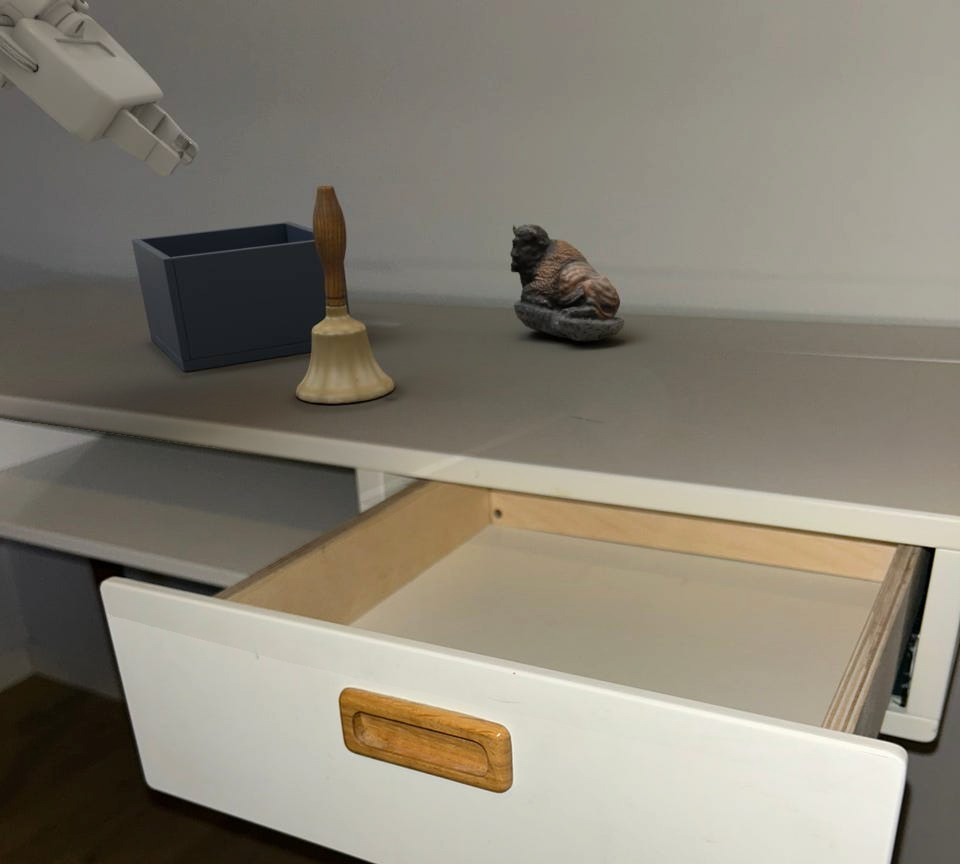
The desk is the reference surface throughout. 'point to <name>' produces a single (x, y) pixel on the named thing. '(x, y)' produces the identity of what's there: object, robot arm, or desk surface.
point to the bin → (232, 293)
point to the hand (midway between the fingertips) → (184, 163)
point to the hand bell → (338, 323)
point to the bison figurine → (561, 289)
